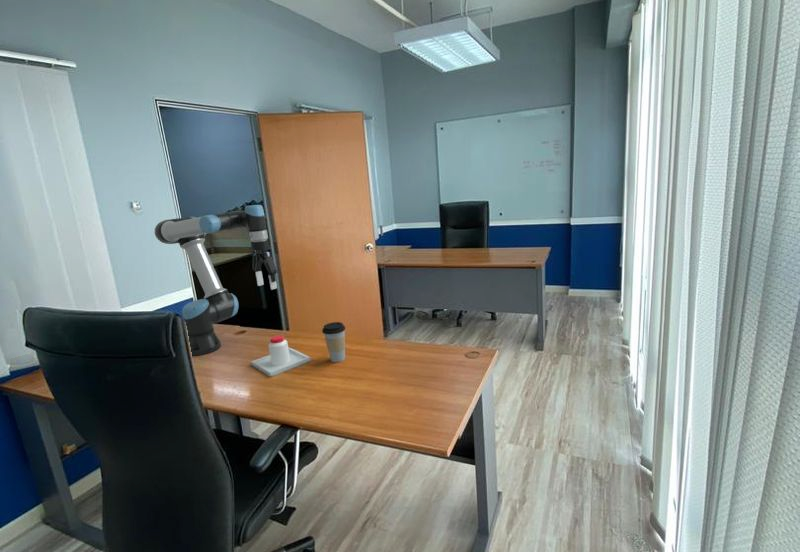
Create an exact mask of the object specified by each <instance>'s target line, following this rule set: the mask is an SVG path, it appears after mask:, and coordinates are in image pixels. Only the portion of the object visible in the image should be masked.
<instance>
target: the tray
mask: <svg viewBox="0 0 800 552" xmlns="http://www.w3.org/2000/svg"><path fill="white" fill-rule="evenodd" d="M288 349H289V355H290V362H289V363H287V364H285V365H281V366H273V365H272V364H271V358H270V354H269V355H265V356H262V357H260V358H257V359H254V360H252V361H251V362H250V363H251V366H252V367H254V368H256V369H257V370H258V371H260V372H262V373H263V374H266V375H267V376H269V377H270V378H273V377H275V376H277V375H281V374H282V373H285V372H287V371H290V370H294V369H295V368H298V367H300V366H303V365H305V364H307V363H310V362H312V357H311V356H309V355H306V354H304V352H303V353H302V352H300V351H298V350H297V349H294V348H292V347H288Z"/></svg>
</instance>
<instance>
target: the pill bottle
mask: <svg viewBox="0 0 800 552" xmlns="http://www.w3.org/2000/svg"><path fill="white" fill-rule="evenodd" d="M284 336H285V335H282V334H277V335H273V336H271V337H270V338H269V341H270V342H269V343H268V344H267V345H268V352H269V355H270V358H271V364H272V365H273V366H281V365H285V364H287V363H289V362H290V355H289V349H288V348H289V344H288V340H286V338H285V337H284Z"/></svg>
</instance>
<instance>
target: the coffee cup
mask: <svg viewBox="0 0 800 552" xmlns="http://www.w3.org/2000/svg"><path fill="white" fill-rule="evenodd" d="M345 330H346V327H345V324H344V323H343V322H340V321H336V322H334V321H333V322H329V323H326V324H325V325H323V328H322V333H323V335H324V340H325V344H326V348H327V352H328V355H329V358H330V361H331V362H332V363H340V362H343V361H345V359H346V333H345Z"/></svg>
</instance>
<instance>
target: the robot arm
mask: <svg viewBox="0 0 800 552" xmlns="http://www.w3.org/2000/svg"><path fill="white" fill-rule="evenodd" d="M242 228H243V229H245V228H248V233H249V234H248V237H249V240H250V241H251V242H250V246H251V250H252V271H254V272H255V278H256V284H257V287H261V286H264V285H265V284H264V283H265V282H264V278H263V272H262V264H263V265H264V267H265V268H266V271H267V272H268V274H267V276H268V280H269V281H268V282H269V287H270V290H271V291H272V290H276V289H278V284H277V277H276V274H277V273H278V270H277V267H276V263H275V261H274V260H273V256H272V252H271V251H267V250H268V249H270V241H269V236H268V230H267V224H266V218H265V211H264V207H263V205H261V204H254V205H253V204H252V205H246V206H244V210H233V211H229V212H223V213H222V212H220V213H213V214H206V215H203V216H199V217H196V216H184V217H177V218H171V219H164V220H162V221H160V222H158V223H157V224H156V226H155V228H154V234H155V235H154V236H155V237H156V239H157V241H159V242H160V243H162V244H165V245H166V244H168V245H172V244H173V245H174V244H178V245H179V247H180V249H183V250H185V252H186V254H187V256H188V259H189V261H190V264H191V265H192V268H193V270H194V271H195V274H196V276H197V278H198V281H199V284H200V286H201V288H202V290H203V292H204V296H203V298H201V299H197V300H192V301H191V302H188V303H186V304H185V305H184V306H183V307H182V308H181V309H182V310H181V312H182V319H183V321H184V320H185V322H186V326H187V330H188V336H189V342H190V347H191V352H192V356H193V357H194V356H202V355H203V356H204V355H207V354H211V353H213V352H216V351H218V350H219V349H220V348H221V347H222V343H221V339H220V338H219V337H218V335H217V334H216V332H215V329H214V328H215V327H214V325H215V324H217V323H220V322H223V321H225V320H229V319H230V318H232V317H234V316H236V315H237V313H238V310H239V301H238V298H237V296H236V295H234V294H233V293H229V291H228V289H227V288H224V287H223V285H222V283H221V280H220V278H219V275H218V274H217V271H216V269H215V268H214V265H213V262H212V260H211V258H210V256H209V254H208V252H207V249H206V247H205V244H204V243H205V241H206V238H205V237H206V235H207V234H208V235H209V234H215V233H219V232H224V231H232V230H236V229H242Z"/></svg>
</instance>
